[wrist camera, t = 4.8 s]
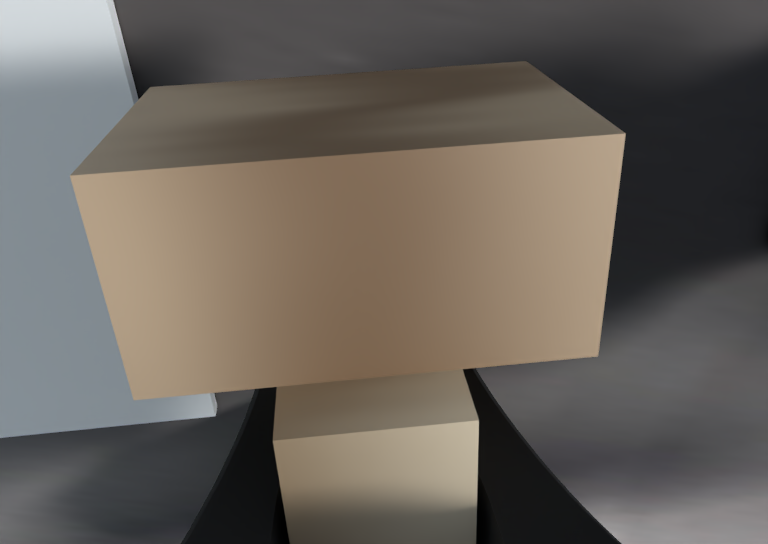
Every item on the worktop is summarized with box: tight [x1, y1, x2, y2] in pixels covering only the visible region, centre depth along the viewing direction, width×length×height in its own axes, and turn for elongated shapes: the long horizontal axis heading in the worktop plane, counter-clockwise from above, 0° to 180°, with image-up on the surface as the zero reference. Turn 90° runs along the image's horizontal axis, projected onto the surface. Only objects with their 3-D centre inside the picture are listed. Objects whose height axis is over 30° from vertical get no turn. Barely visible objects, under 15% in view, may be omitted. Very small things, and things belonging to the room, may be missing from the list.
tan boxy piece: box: [70, 61, 626, 544], centre depth 12 cm, size 6×14×5 cm, turn 2°
